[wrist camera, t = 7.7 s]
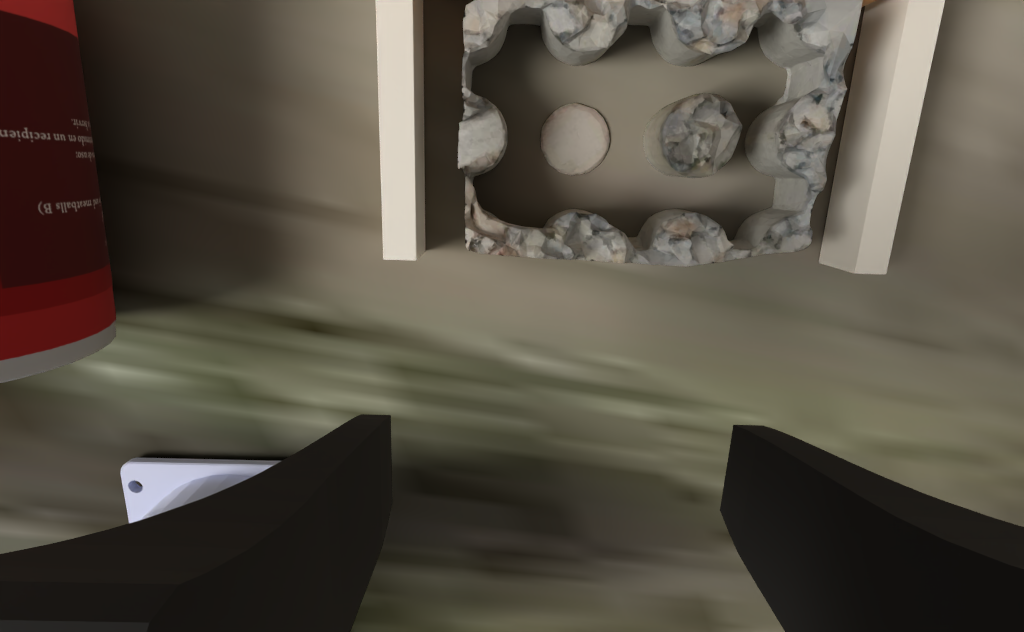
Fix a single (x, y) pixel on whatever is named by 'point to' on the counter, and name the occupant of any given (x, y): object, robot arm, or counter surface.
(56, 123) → the canned food
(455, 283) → the counter surface
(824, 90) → the egg carton
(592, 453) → the counter surface
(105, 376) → the counter surface
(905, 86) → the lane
